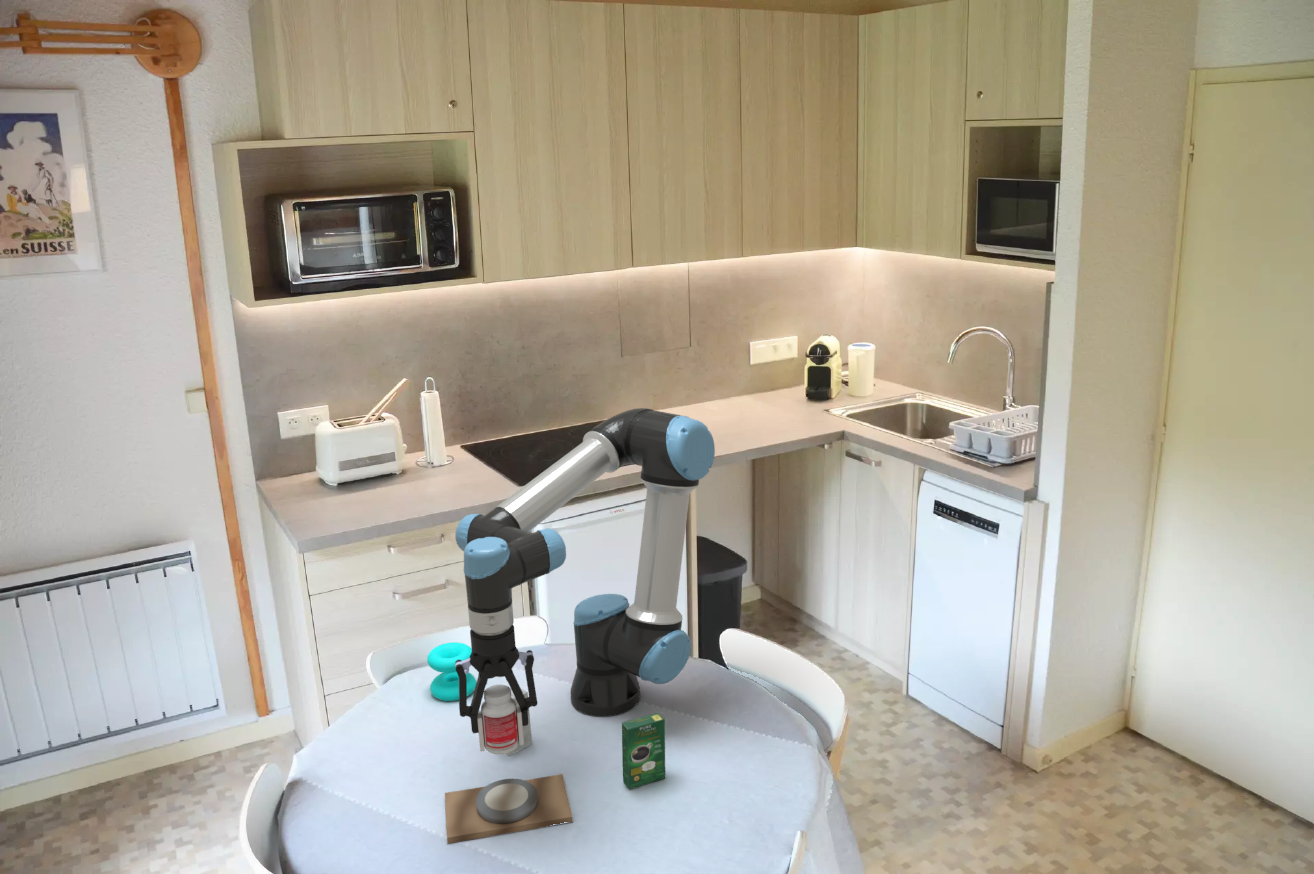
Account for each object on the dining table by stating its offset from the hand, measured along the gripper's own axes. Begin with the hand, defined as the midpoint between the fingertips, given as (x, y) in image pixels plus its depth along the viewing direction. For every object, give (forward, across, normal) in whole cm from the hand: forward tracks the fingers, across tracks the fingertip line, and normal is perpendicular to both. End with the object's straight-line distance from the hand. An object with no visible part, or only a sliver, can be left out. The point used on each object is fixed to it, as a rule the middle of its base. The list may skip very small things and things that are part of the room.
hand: (501, 743), depth 184 cm
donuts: (+14, -8, +45) cm, 48 cm away
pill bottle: (+1, 0, 0) cm, 1 cm away
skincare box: (+14, +3, +20) cm, 25 cm away
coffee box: (+14, +26, +2) cm, 30 cm away
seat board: (+14, 0, 0) cm, 14 cm away
